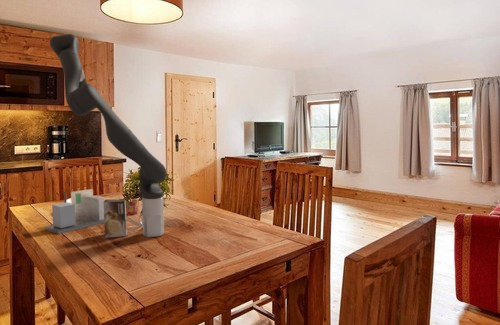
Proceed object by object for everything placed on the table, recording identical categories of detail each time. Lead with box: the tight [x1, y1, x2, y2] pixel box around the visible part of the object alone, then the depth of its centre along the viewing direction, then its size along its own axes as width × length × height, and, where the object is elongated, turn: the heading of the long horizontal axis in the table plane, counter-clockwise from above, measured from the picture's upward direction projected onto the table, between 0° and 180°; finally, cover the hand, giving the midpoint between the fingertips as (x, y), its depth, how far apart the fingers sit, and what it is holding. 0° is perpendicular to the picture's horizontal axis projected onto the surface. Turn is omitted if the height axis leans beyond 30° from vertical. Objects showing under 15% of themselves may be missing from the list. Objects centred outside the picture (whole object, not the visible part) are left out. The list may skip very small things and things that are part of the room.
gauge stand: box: [44, 188, 105, 235], centre depth 171 cm, size 24×12×16 cm, turn 145°
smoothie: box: [126, 200, 140, 216], centre depth 195 cm, size 8×8×20 cm
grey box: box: [51, 191, 76, 228], centre depth 166 cm, size 7×8×15 cm
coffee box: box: [103, 198, 128, 239], centre depth 157 cm, size 9×6×16 cm
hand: (84, 103), depth 169 cm, fingers open, 8 cm apart
